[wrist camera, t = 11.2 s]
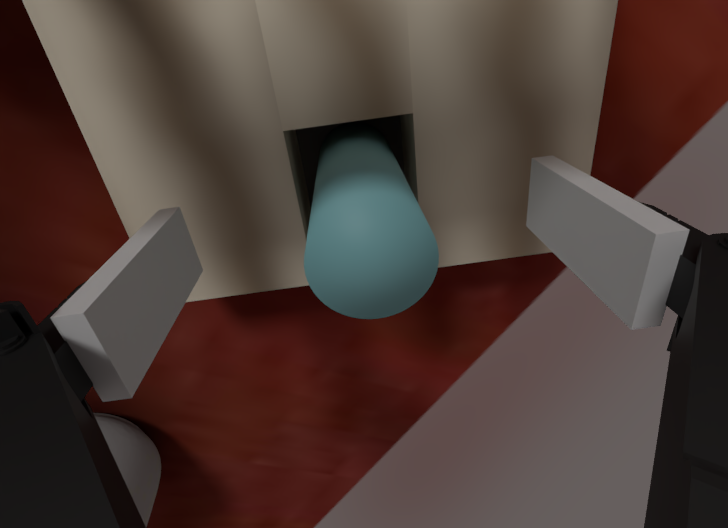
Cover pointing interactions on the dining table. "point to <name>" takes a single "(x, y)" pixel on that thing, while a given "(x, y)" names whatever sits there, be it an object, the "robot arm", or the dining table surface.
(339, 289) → the peg
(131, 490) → the teacup
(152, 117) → the socket block
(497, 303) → the dining table surface
